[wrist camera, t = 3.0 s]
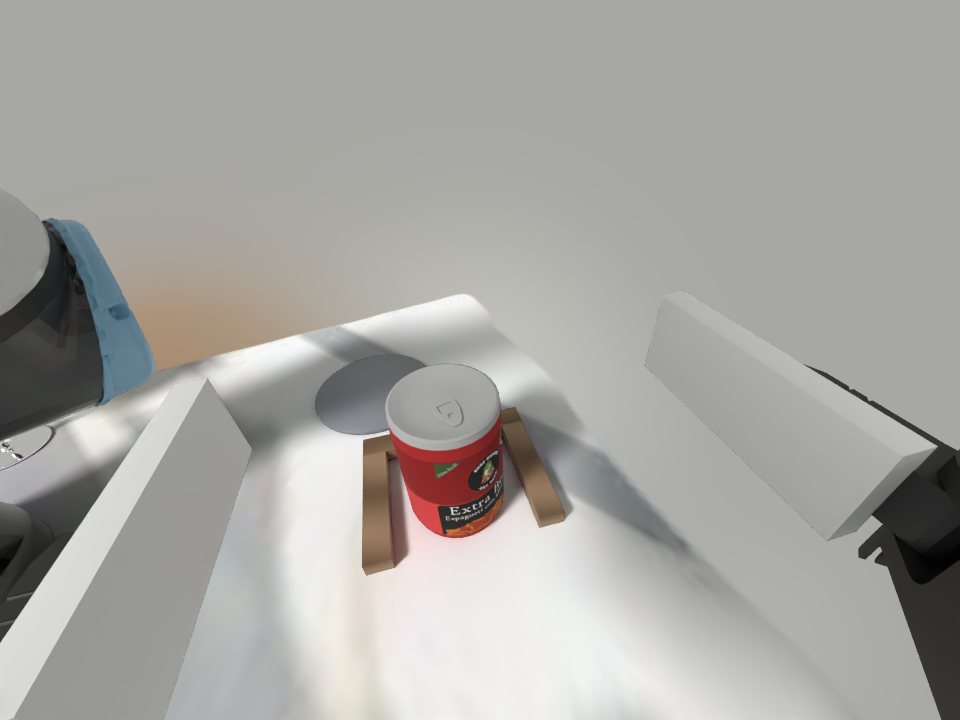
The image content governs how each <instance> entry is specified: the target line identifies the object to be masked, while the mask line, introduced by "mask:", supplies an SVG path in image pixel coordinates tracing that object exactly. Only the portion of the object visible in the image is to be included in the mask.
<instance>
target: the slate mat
mask: <svg viewBox="0 0 960 720" xmlns="http://www.w3.org/2000/svg"><path fill="white" fill-rule="evenodd" d="M424 367H426V366H425V365H424V364H423V363H421V362H420V361H418V360H416V359H414V358H411V357H407V356H402V355H380V356H373V357H369V358H365V359H362V360H359V361H356V362H354V363H351V364H349V365H347V366H345V367H343V368H342V369H340V370H338V371H337V372H336V373H334V374H333V375H332V376H331V377H330V378H328V379H327V380H326V382H325V383H324V384H323V385H322V387H321V388H320V390H319V392H318V394H317V397H316V410H317V413H318V415H319V417H320V419H321V420H322V422H323V423H324V424H325V425H326V426H328V427H329V428H331V429H333V430H335V431H338V432H341V433H345V434H352V435H366V434H374V433H379V432H383V431H386V430H389V426H388V423H387V420H386V411H385V404H386V400H387V397H388V395H389V393H390V391H391V389H392V388H393V387H394V386H395V384H396V383H397V382H399V381H400V380H401V379H402V378H403V377H405V376H407V375H408V374H410V373H411V372H414V371H416V370H418V369H421V368H424Z"/></svg>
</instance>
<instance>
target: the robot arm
mask: <svg viewBox="0 0 960 720" xmlns="http://www.w3.org/2000/svg"><path fill="white" fill-rule="evenodd" d="M645 366H646V367H647V368H648V369H649V370H650V371H651V372H652V373H653V374H654V375H655V376H656V377H657V378H658V379H659V380H660V381H661V382H662V383H663V384H664V385H665V386H666V387H667V388H668V389H669V390H670V391H671V392H673V393H674V394H675V395H676V396H677V397H678V398H679V399H680V400H681V401H682V402H683V403H684V404H685V405H686V406H687V407H688V408H689V409H690V410H691V411H692V412H693V413H694V414H695V415H696V416H697V417H698V418H700V419H701V420H702V421H703V422H704V423H705V424H706V425H707V426H708V427H709V428H710V429H711V430H712V431H713V432H714V433H715V434H716V435H717V436H718V437H719V438H720V439H721V440H722V441H723V442H724V443H726V444H727V445H728V446H729V447H730V448H731V449H732V450H733V451H734V452H735V453H736V454H737V455H738V456H739V457H740V458H741V459H742V460H743V461H744V462H745V463H746V464H747V465H748V466H749V467H750V468H751V469H753V470H754V471H755V472H756V473H757V474H758V475H759V476H760V477H761V478H762V479H763V480H764V481H765V482H766V483H767V484H768V485H769V486H770V487H771V488H772V489H773V490H774V491H775V492H776V493H777V494H778V495H780V496H781V497H782V498H783V499H784V500H785V501H786V502H787V503H788V504H789V505H790V506H791V507H792V508H793V509H794V510H795V511H796V512H797V513H798V514H799V515H800V516H801V517H802V518H803V519H805V521H807V522H808V523H809V524H810V525H811V526H812V527H813V528H814V529H815V530H816V531H817V532H818V533H819V534H820V535H821V536H822V537H823V538H824V539H825V540H826V541H828V540H831V539H834V538H837V537H841V536H844V535H846V534H850V533H853V532H856V531H857V530H858V529H859V528H860V526H862V524H863V523H864V522H865V521H866V520H867V519H868V518H869V517H870V516H871V515H873V516H874V517H875V518H876V519H877V520H879V521H880V522H881V523H882V524H883V525H882V526H881V527H880V528H879V529H878V530H877V531H875V533H874V534H872V535H871V536H870V537H869V538H868V539H867V540H866V541H865V542H864V543H863V544H862V545H861V546H860V547H859V551H858V553H859V558H862V559H866V558H867V557H868V556H869V555H871V554H872V553H873V552H874V551H875V550H876V549H877V548H878V547H881V549H882V552H881V553H880V554H879V555H878V556H877V557H876V559H875V563H877V564H881V565H884V566H887V567H888V569H889V572H890V575H891V578H892V581H893V584H894V586H895V589H896V592H897V595H898V598H899V601H900V603H901V606H902V609H903V612H904V615H905V618H906V620H907V623H908V626H909V629H910V632H911V635H912V638H913V640H914V643H915V646H916V649H917V652H918V654H919V657H920V660H921V663H922V666H923V669H924V672H925V674H926V677H927V680H928V683H929V686H930V688H931V691H932V694H933V697H934V700H935V703H936V705H937V709H938V711H939V714H940V717H941V720H960V450H959V451H957V450H955V449H954V448H952V447H950V446H948V445H946V444H944V443H943V442H941V441H939V440H938V439H936V438H934V437H933V436H931V435H929V434H928V433H926V432H924V431H922V430H921V429H919V428H917V427H916V426H914V425H912V424H911V423H909V422H907V421H906V420H904V419H902V418H901V417H899V416H897V415H896V414H894V413H892V412H891V411H889V410H887V409H885V408H884V407H882V406H881V405H879V404H877V403H876V402H874V401H868V399H867V397H866V396H864V395H862V394H861V393H859V392H857V391H856V390H854V389H853V390H850V389H849V386H847V385H845V384H844V383H842V382H840V381H839V380H837V379H835V378H834V377H832V376H830V375H829V374H827V373H825V372H822V371H820V370H817V369H814V368H812V367H809V366H807V365H804V364H802V363H800V362H798V361H797V360H795V359H793V358H792V357H790V356H789V355H787V354H785V353H784V352H782V351H780V350H779V349H777V348H775V347H774V346H772V345H770V344H769V343H767V342H766V341H764V340H762V339H761V338H759V337H757V336H756V335H754V334H752V333H751V332H749V331H747V330H746V329H744V328H743V327H741V326H739V325H738V324H736V323H734V322H733V321H731V320H729V319H728V318H726V317H725V316H722V315H721V314H719V313H718V312H716V311H715V310H713V309H711V308H710V307H708V306H707V305H705V304H703V303H702V302H700V301H698V300H697V299H695V298H693V297H692V296H690V295H688V294H687V293H685V292H677V293H672V294H666V295H662V297H661V301H660V305H659V309H658V313H657V317H656V321H655V326H654V329H653V334H652V338H651V342H650V346H649V350H648V354H647V359H646V362H645ZM155 369H156V361H155V358H154V356H153V353H152V351H151V349H150V346H149V344H148V342H147V340H146V338H145V336H144V334H143V332H142V330H141V328H140V326H139V324H138V322H137V320H136V319H135V317H134V315H133V313H132V311H131V310H130V308H129V307H128V303H127V301H126V300H125V298H124V296H123V294H122V291H121V289H120V287H119V285H118V283H117V281H116V280H115V278H114V276H113V274H112V272H111V270H110V268H109V266H108V265H107V263H106V261H105V259H104V257H103V256H102V254H101V252H100V250H99V248H98V247H97V245H96V243H95V241H94V240H93V238H92V236H91V234H90V233H89V231H88V230H87V229H86V228H85V226H84V225H82V224H80V223H79V222H77V221H73V220H57V219H53V218H50V219H47V220H42V221H40V219H39V218H38V217H37V215H35V214H34V213H33V212H32V211H31V210H30V209H29V208H28V207H27V206H26V205H25V204H23V203H22V202H21V201H20V200H19V199H17V198H16V197H14V196H13V195H11V194H9V193H7V192H6V191H4V190H1V189H0V442H1V441H4V440H6V439H9V438H12V437H14V436H17V435H20V434H22V433H25V432H27V431H30V430H33V429H35V428H38V427H41V426H43V425H46V424H49V423H51V422H54V421H56V420H59V419H62V418H64V417H67V416H70V415H72V414H75V413H77V412H80V411H83V410H85V409H88V408H91V407H93V406H100V405H103V404H106V403H107V402H108V401H110V399H111V398H113V397H115V396H117V395H120V394H122V393H124V392H126V391H129V390H131V389H133V388H136V387H138V386H140V385H142V384H144V383H145V382H147V381H148V380H149V379H150V378H151V377H152V375H153V374H154V372H155ZM251 452H252V448H251V447H250V445H249V444H248V442H247V440H246V439H245V437H244V436H243V434H242V433H241V431H240V429H239V428H238V426H237V425H236V423H235V421H234V420H233V418H232V417H231V415H230V413H229V412H228V410H227V409H226V407H225V405H224V404H223V402H222V401H221V399H220V397H219V396H218V394H217V393H216V391H215V389H214V388H213V386H212V385H211V383H210V381H209V380H208V378H206V379H201V380H195V381H190V382H184V383H179V384H175V385H174V386H173V388H172V389H171V391H170V392H169V394H168V395H167V397H166V398H165V400H164V401H163V403H162V404H161V405H160V407H159V408H158V410H157V411H156V413H155V414H154V416H153V417H152V419H151V420H150V422H149V423H148V425H147V426H146V428H145V429H144V431H143V432H142V434H141V435H140V437H139V438H138V440H137V441H136V443H135V444H134V446H133V447H132V448H131V450H130V451H129V453H128V454H127V456H126V457H125V459H124V460H123V462H122V463H121V465H120V466H119V468H118V469H117V471H116V472H115V474H114V475H113V477H112V478H111V480H110V481H109V483H108V484H107V486H106V487H105V489H104V490H103V491H102V493H101V494H100V496H99V497H98V499H97V500H96V502H95V503H94V505H93V506H92V508H91V509H90V511H89V512H88V514H87V515H86V517H85V518H84V520H83V521H82V523H81V524H80V526H79V527H78V529H77V530H76V531H75V532H70V533H66V534H62V535H61V536H60V537H59V538H58V539H57V540H56V541H54V542H53V535H52V533H51V531H50V529H49V528H48V527H47V525H45V524H44V523H43V522H41V521H40V520H38V519H37V518H36V517H34V516H33V515H32V514H30V513H29V512H27V511H26V510H24V509H22V508H20V507H17V506H14V505H11V504H7V503H3V502H0V720H164V718H165V715H166V712H167V709H168V706H169V703H170V700H171V697H172V694H173V691H174V687H175V684H176V681H177V678H178V675H179V672H180V669H181V666H182V663H183V660H184V657H185V654H186V651H187V648H188V645H189V642H190V639H191V636H192V632H193V629H194V626H195V623H196V620H197V617H198V614H199V611H200V608H201V605H202V602H203V599H204V596H205V593H206V590H207V587H208V584H209V581H210V578H211V574H212V571H213V568H214V565H215V562H216V559H217V556H218V553H219V550H220V547H221V544H222V541H223V538H224V535H225V532H226V529H227V526H228V523H229V520H230V516H231V513H232V510H233V507H234V504H235V501H236V498H237V495H238V492H239V489H240V486H241V483H242V480H243V477H244V474H245V471H246V468H247V465H248V462H249V458H250V455H251Z"/></svg>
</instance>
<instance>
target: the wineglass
mask: <svg viewBox="0 0 960 720" xmlns="http://www.w3.org/2000/svg"><path fill="white" fill-rule="evenodd" d="M51 436H52V430H51V429H50V428H49V427H47V426H41V427H38V428H35V429H33V430H30V431H27V432H25V433H22V434H20V435H17V436H14V437H12V438H9V439H6V440H4V441H1V442H0V470H2V469H5V468H7V467H10V466H12V465H14V464H16V463H18V462H20V461H22V460H24V459H26V458H27V457H29V456H31V455H32V454H34V453H35V452H37V451H38V450H39V449H40V448H42V447H43V446H44V445H45V444H46V443H47V442H48V441H49V439H50V438H51Z"/></svg>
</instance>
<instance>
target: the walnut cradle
mask: <svg viewBox="0 0 960 720" xmlns="http://www.w3.org/2000/svg"><path fill="white" fill-rule="evenodd" d="M501 420H502V435H503V438H504V440H505V443H506V445H507V448H508V451H509V453H510V456H511V458H512V461H513V463H514V466H515V468H516V471H517V473H518V476H519V478H520V481H521V483H522V486H523V488H524V491H525V493H526V496H527V498H528V501H529V503H530V506H531V508H532V511H533V513H534V516H535V518H536V521H537V523H538V526H539V528H540V527H544V526H548V525H551V524H555V523H559V522H562V521H564V515H565V511H564V509H563V507H562V505H561V503H560V501H559V499H558V497H557V495H556V492H555V490H554V488H553V486H552V484H551V482H550V480H549V478H548V476H547V474H546V471H545V469H544V467H543V465H542V463H541V461H540V459H539V457H538V455H537V452H536V450H535V448H534V446H533V444H532V442H531V440H530V438H529V436H528V434H527V431H526V429H525V427H524V425H523V423H522V421H521V419H520V417H519V415H518V412H517V410H516V408H515V407H513V408H508V409H504V410H501ZM394 458H397V455H396V451H395V448H394V445H393V441H392V438H391V435H390V434H389V435H384V436H380V437H375V438H370V439H366V440H363V527H362V568H363V570H364V572H365V574H366V575H370V574H373V573H377V572H380V571H384V570H388V569H391V568H395V565H394V549H393V532H392V515H391V498H390V481H389V464H388V460H390V459H394Z"/></svg>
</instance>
